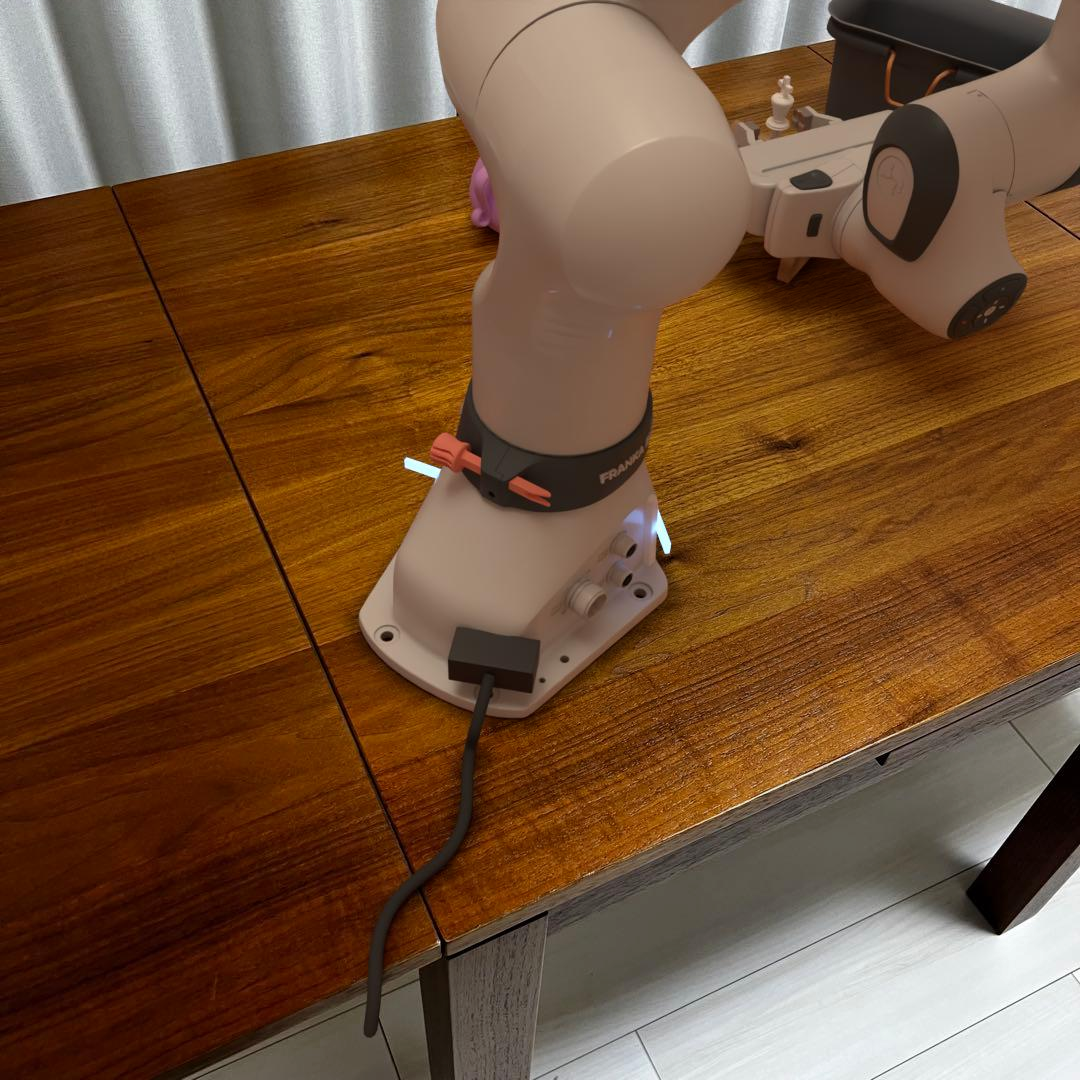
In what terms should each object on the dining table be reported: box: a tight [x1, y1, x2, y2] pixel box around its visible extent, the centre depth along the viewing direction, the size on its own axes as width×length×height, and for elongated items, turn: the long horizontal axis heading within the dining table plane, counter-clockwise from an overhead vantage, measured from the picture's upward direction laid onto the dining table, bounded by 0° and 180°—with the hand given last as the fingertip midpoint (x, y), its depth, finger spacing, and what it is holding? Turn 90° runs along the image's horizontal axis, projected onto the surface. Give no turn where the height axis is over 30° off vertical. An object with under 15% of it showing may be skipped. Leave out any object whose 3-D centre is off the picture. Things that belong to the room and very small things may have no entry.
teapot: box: [468, 156, 500, 234], centre depth 109 cm, size 10×15×9 cm
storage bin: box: [824, 0, 1055, 121], centre depth 116 cm, size 21×16×14 cm
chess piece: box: [765, 75, 795, 140], centre depth 107 cm, size 5×5×10 cm
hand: (770, 121), depth 107 cm, fingers open, 5 cm apart
